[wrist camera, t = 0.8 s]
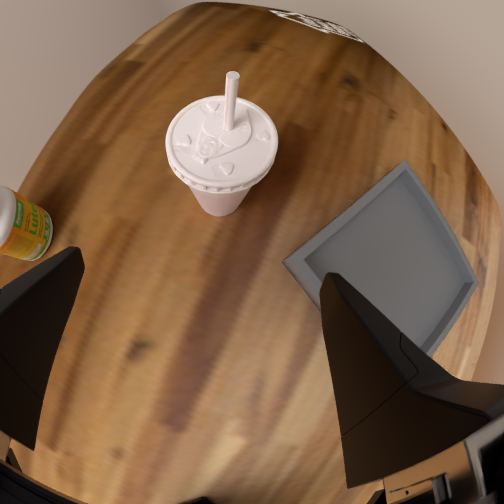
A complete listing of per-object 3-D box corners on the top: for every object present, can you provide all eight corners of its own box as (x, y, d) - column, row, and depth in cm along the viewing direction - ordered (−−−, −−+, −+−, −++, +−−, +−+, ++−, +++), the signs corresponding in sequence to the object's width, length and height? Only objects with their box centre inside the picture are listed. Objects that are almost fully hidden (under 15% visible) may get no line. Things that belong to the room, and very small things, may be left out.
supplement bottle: (60, 243, 21) (-5, 215, 12) (25, 271, 20) (-41, 256, 11) (46, 198, 21) (-10, 159, 12) (13, 227, 20) (-46, 199, 11)
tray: (464, 284, 26) (478, 282, 23) (381, 392, 22) (394, 399, 20) (392, 169, 26) (404, 159, 24) (281, 261, 23) (289, 257, 21)
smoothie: (270, 189, 24) (324, 81, 10) (228, 247, 23) (242, 174, 9) (213, 152, 24) (214, 28, 10) (168, 204, 23) (119, 99, 9)
